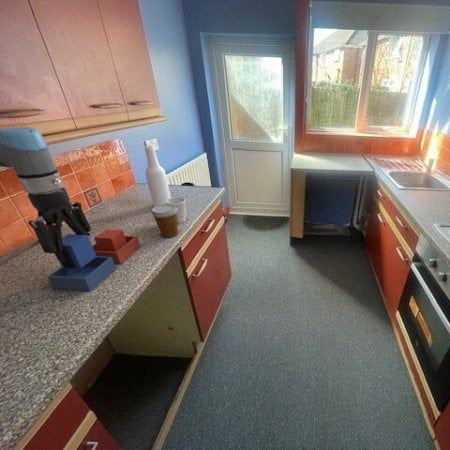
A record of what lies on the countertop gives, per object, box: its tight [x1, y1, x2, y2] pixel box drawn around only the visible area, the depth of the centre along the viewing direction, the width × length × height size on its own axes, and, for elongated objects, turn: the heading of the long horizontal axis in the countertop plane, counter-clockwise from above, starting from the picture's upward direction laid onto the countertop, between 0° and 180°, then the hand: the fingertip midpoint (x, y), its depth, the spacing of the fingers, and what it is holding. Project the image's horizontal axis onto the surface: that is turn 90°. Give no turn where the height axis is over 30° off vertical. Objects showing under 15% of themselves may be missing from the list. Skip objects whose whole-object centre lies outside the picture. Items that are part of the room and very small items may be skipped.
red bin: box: [92, 235, 141, 264], centre depth 91 cm, size 11×11×5 cm
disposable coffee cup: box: [150, 204, 179, 238], centre depth 103 cm, size 10×10×12 cm
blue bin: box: [47, 256, 117, 292], centre depth 79 cm, size 11×11×5 cm
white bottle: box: [144, 145, 172, 208], centre depth 124 cm, size 9×9×30 cm
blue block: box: [58, 233, 97, 268], centre depth 75 cm, size 6×6×8 cm
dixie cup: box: [165, 196, 187, 224], centre depth 114 cm, size 8×8×10 cm
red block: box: [93, 228, 127, 252], centre depth 90 cm, size 6×6×8 cm
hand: (79, 260), depth 77 cm, fingers closed on blue block, 6 cm apart
